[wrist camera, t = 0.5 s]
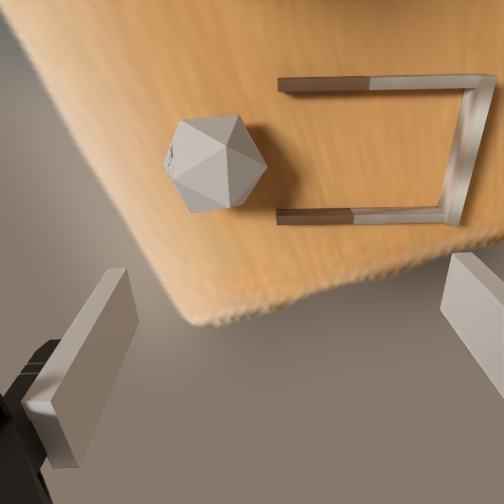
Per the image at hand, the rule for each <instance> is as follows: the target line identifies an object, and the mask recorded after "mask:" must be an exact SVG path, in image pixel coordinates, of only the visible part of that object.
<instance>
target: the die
mask: <svg viewBox="0 0 504 504" xmlns="http://www.w3.org/2000/svg"><path fill="white" fill-rule="evenodd" d="M163 165H164V167H165V169H166V171H167V172H168V174H169V176H170V178H171V179H172V181H173V183H174V185H175V186H176V188H177V190H178V192H179V193H180V195H181V197H182V199H183V200H184V202H185V204H186V206H187V207H188V209H189V211H190V213H196V212H204V211H211V210H219V209H226V208H232V207H236V206H239V205H243V204H244V202H245V201H246V199H247V198H248V196H249V195H250V193H251V192H252V190H253V189H254V187H255V185H256V184H257V182H258V181H259V179H260V178H261V176H262V175H263V173H264V172H265V170H266V169H267V167H268V166H267V165H266V163H265V161H264V159H263V157H262V156H261V154H260V152H259V150H258V148H257V147H256V145H255V143H254V141H253V139H252V137H251V136H250V134H249V132H248V130H247V128H246V127H245V125H244V123H243V121H242V119H241V118H240V116H239V115H230V116H218V117H207V118H196V119H185V120H180V122H179V124H178V127H177V130H176V132H175V135H174V137H173V140H172V142H171V145H170V148H169V150H168V153H167V155H166V158H165V160H164V163H163Z"/></svg>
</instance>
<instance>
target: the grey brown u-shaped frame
mask: <svg viewBox="0 0 504 504" xmlns="http://www.w3.org/2000/svg"><path fill="white" fill-rule="evenodd" d="M496 80H497V76H494V75H485V74H443V75H395V76H347V77H300V78H278V91H279V92H299V91H347V90H396V89H445V88H465V90H464V94H463V99H462V103H461V108H460V112H459V117H458V121H457V125H456V130H455V134H454V139H453V143H452V147H451V152H450V156H449V161H448V165H447V169H446V174H445V178H444V183H443V187H442V191H441V196H440V200H439V205H438V206H435V207H378V208H320V209H276V221H277V225H323V224H382V223H441V222H444V223H445V224H447V225H448V226H459V222H460V218H461V214H462V211H463V207H464V203H465V199H466V195H467V191H468V187H469V184H470V180H471V176H472V172H473V168H474V164H475V161H476V157H477V153H478V149H479V145H480V141H481V138H482V134H483V130H484V126H485V122H486V118H487V115H488V111H489V107H490V103H491V99H492V95H493V92H494V88H495V84H496Z"/></svg>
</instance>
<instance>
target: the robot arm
mask: <svg viewBox="0 0 504 504" xmlns="http://www.w3.org/2000/svg"><path fill="white" fill-rule="evenodd" d="M440 310H441V312H442V313H443V314H444V316H445V317H446V318H447V320H448V321H449V323H450V324H451V326H452V327H453V328H454V330H455V331H456V333H457V334H458V335H459V337H460V338H461V339H462V341H463V342H464V344H465V345H466V346H467V348H468V349H469V351H470V352H471V353H472V355H473V356H474V358H475V359H476V360H477V362H478V363H479V365H480V366H481V367H482V369H483V370H484V371H485V373H486V374H487V376H488V377H489V378H490V380H491V381H492V383H493V384H494V385H495V387H496V388H497V390H498V391H499V392H500V394H501V395H502V396H503V398H504V282H503V281H502V280H501V279H500V278H498V276H496V275H495V274H494V273H493V272H492V271H491V270H490V269H489V268H488V267H487V266H486V265H485V264H483V263H482V262H481V261H480V260H479V259H478V258H477V257H476V256H475V255H474V254H473V253H452V257H451V262H450V266H449V270H448V275H447V280H446V284H445V289H444V293H443V298H442V303H441V307H440ZM138 324H139V318H138V315H137V310H136V306H135V302H134V298H133V294H132V289H131V285H130V281H129V277H128V273H127V269H126V268H120V269H107V271H106V273H105V274H104V276H103V277H102V279H101V280H100V282H99V283H98V285H97V287H96V288H95V289H94V291H93V293H92V294H91V295H90V297H89V298H88V300H87V302H86V303H85V305H84V306H83V308H82V309H81V311H80V312H79V314H78V315H77V317H76V318H75V320H74V321H73V323H72V324H71V326H70V328H69V329H68V331H67V332H66V334H65V335H64V337H63V338H62V339H58V340H49V341H48V342H46V343H45V344H44V345H43V346H41V347H40V348H39V349H38V350H36V352H35V353H34V354H33V356H32V357H31V359H30V360H29V362H28V364H27V365H26V366H25V367H24V368H23V370H22V371H21V374H20V375H19V376H18V377H17V378H16V380H15V381H14V382H13V384H12V385H11V387H10V388H9V389H8V391H7V392H6V394H5V395H4V397H2V395H1V394H0V504H53V502H52V499H51V497H50V494H49V491H48V488H47V486H46V483H45V480H44V477H43V475H42V473H41V471H40V468H41V466H42V464H43V462H44V461H45V458H46V457H47V458H48V459H49V462H50V463H51V466H52V468H53V469H54V468H79V467H80V464H81V462H82V459H83V457H84V454H85V452H86V450H87V447H88V445H89V442H90V440H91V438H92V435H93V433H94V430H95V428H96V425H97V423H98V421H99V418H100V416H101V413H102V411H103V408H104V406H105V404H106V401H107V399H108V396H109V394H110V392H111V389H112V387H113V384H114V382H115V379H116V377H117V375H118V372H119V370H120V367H121V365H122V363H123V360H124V358H125V355H126V353H127V351H128V348H129V346H130V343H131V341H132V338H133V336H134V334H135V331H136V329H137V326H138Z"/></svg>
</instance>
